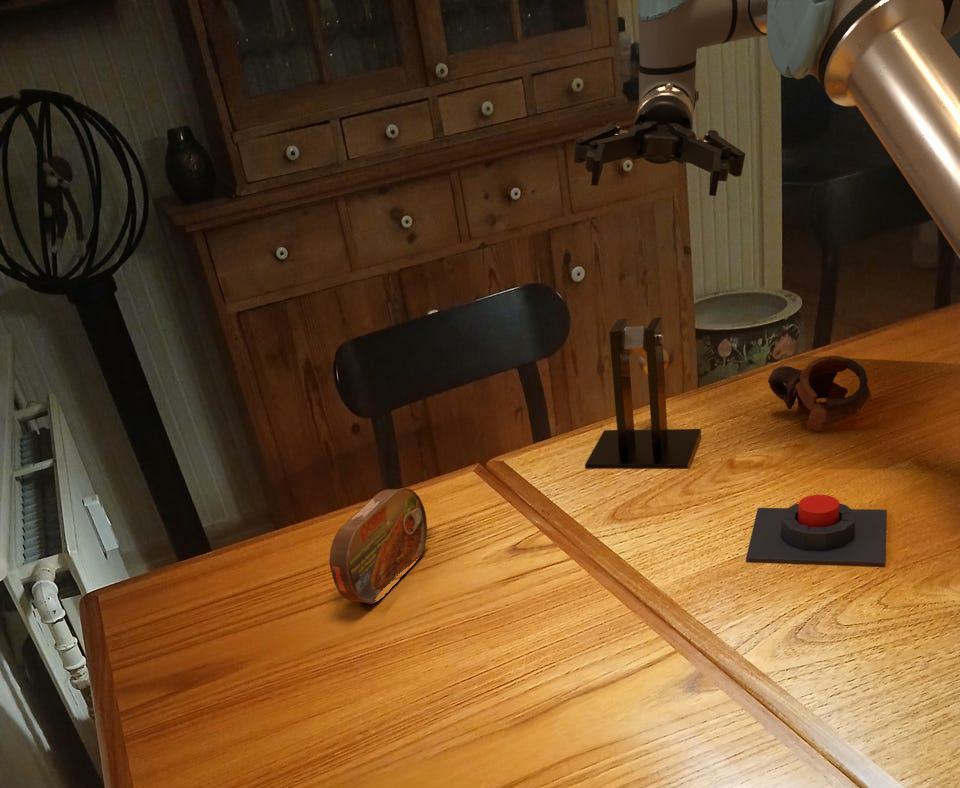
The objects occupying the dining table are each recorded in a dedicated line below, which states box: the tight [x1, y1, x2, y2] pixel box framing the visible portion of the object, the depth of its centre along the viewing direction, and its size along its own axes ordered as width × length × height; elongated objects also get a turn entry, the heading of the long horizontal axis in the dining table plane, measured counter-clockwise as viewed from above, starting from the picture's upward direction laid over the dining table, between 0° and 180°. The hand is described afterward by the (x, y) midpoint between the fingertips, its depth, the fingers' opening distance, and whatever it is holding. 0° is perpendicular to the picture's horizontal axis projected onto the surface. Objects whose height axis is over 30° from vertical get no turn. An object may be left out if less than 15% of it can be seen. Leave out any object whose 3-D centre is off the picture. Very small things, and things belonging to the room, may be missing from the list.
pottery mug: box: [767, 355, 872, 432], centre depth 118 cm, size 12×10×8 cm
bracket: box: [584, 316, 702, 470], centre depth 114 cm, size 10×12×16 cm
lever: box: [624, 325, 669, 376], centre depth 115 cm, size 13×4×4 cm
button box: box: [745, 502, 888, 568], centre depth 93 cm, size 12×10×4 cm
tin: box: [329, 487, 428, 605], centre depth 100 cm, size 15×3×8 cm, turn 154°
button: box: [798, 494, 841, 527], centre depth 91 cm, size 4×4×2 cm
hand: (654, 178), depth 113 cm, fingers open, 13 cm apart
